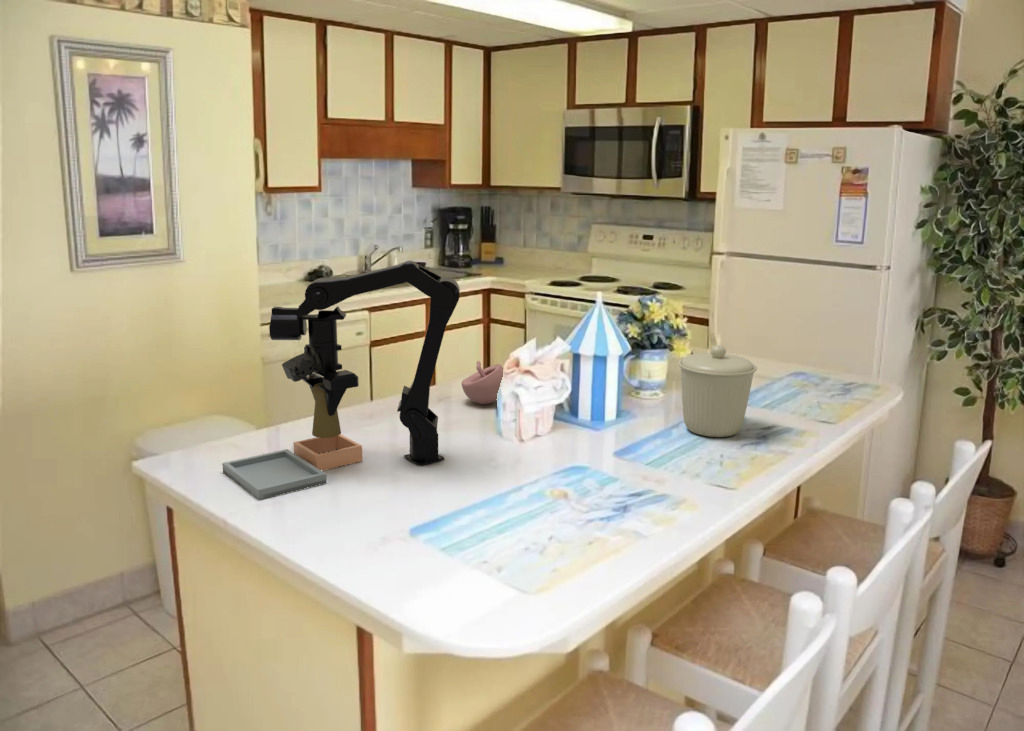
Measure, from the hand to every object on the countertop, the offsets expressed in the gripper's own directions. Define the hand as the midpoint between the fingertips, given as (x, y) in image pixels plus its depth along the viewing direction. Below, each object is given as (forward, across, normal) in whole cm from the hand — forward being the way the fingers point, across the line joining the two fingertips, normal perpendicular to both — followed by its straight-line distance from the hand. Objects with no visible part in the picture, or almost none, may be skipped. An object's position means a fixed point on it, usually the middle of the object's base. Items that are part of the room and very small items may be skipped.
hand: (326, 412), depth 179 cm
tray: (+10, +3, -14) cm, 17 cm away
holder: (+10, 0, 0) cm, 10 cm away
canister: (+11, +37, +83) cm, 91 cm away
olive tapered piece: (+5, 0, 0) cm, 5 cm away
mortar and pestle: (+11, -14, +52) cm, 55 cm away
